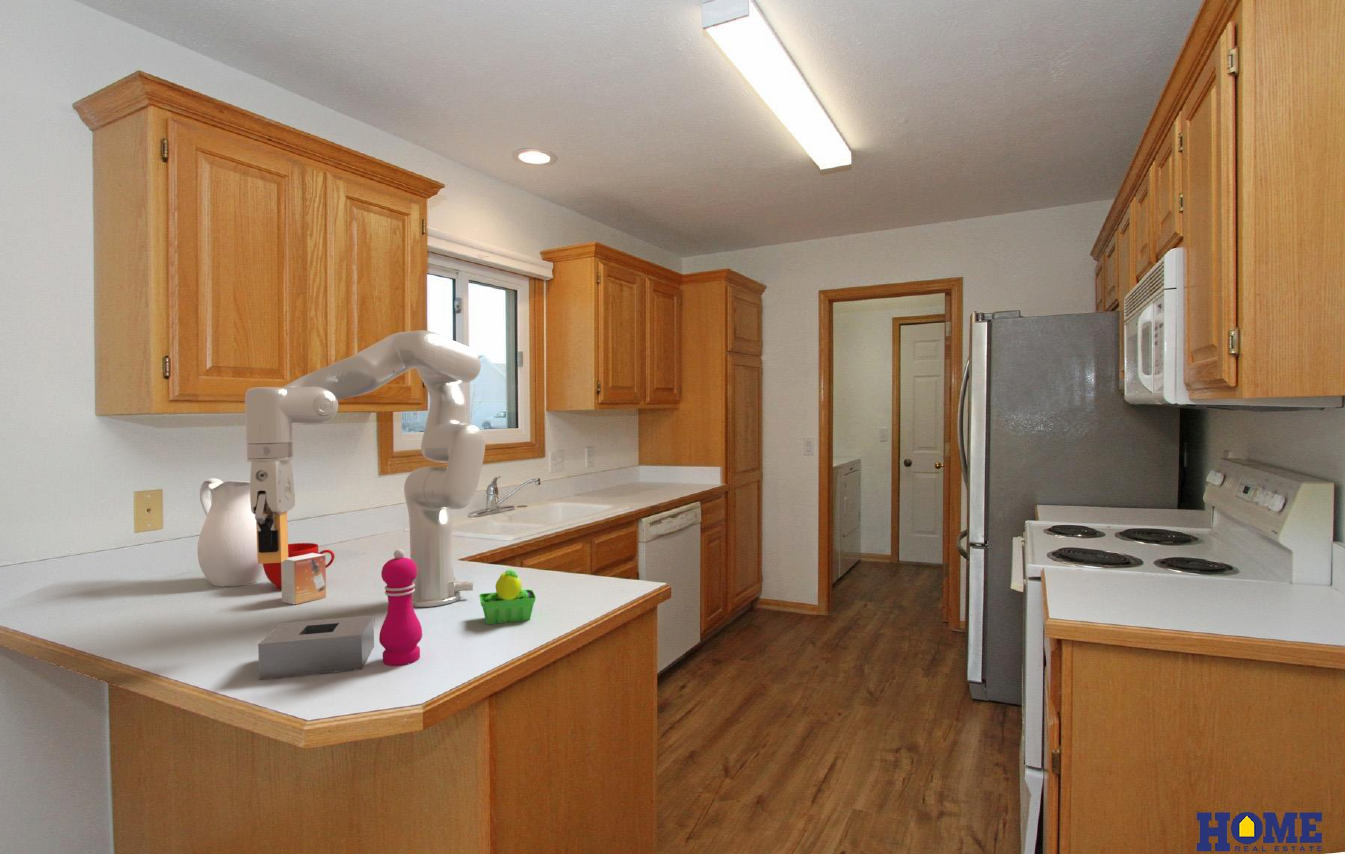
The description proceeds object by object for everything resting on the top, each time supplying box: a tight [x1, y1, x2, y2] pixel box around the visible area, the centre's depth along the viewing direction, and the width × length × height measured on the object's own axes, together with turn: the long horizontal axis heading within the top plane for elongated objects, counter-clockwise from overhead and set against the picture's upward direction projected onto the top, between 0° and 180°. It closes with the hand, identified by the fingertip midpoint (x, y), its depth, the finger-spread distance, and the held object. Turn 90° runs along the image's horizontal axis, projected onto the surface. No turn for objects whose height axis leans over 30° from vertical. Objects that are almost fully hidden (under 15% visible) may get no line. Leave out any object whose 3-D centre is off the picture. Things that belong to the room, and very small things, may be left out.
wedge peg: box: [256, 505, 289, 564], centre depth 129 cm, size 4×4×11 cm
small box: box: [281, 553, 327, 606], centre depth 164 cm, size 8×6×10 cm
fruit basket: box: [478, 569, 537, 625], centre depth 146 cm, size 11×9×11 cm
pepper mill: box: [378, 548, 423, 667], centre depth 123 cm, size 7×7×20 cm
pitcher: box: [197, 477, 265, 587], centre depth 185 cm, size 24×17×28 cm
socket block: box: [257, 615, 375, 681], centre depth 123 cm, size 16×12×6 cm
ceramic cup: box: [263, 542, 335, 590], centre depth 179 cm, size 13×17×10 cm
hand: (273, 548), depth 129 cm, fingers closed on wedge peg, 4 cm apart
